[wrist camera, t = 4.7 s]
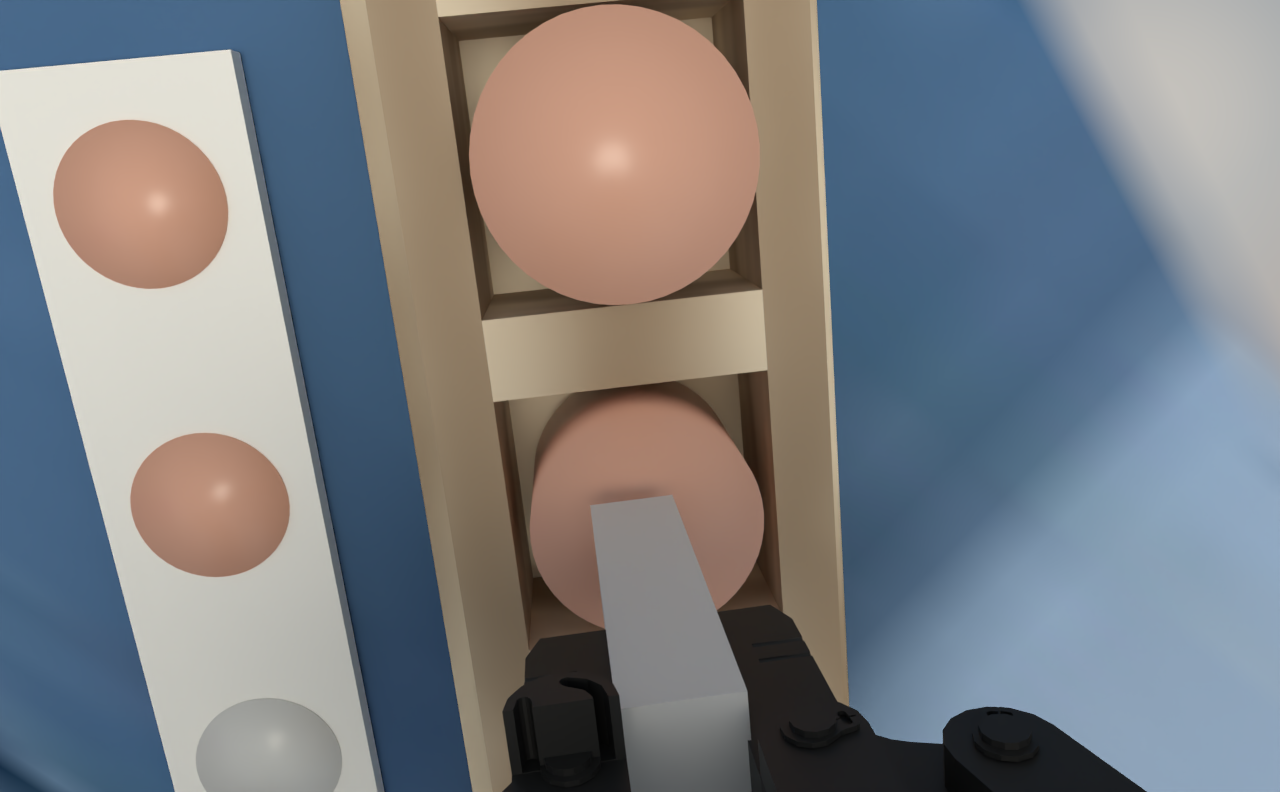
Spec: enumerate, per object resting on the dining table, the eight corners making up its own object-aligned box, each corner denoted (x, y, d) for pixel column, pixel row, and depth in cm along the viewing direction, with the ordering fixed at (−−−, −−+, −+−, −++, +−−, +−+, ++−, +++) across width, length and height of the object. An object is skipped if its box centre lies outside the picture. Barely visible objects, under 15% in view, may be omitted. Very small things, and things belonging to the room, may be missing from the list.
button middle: (547, 573, 22) (545, 648, 19) (522, 385, 21) (515, 429, 18) (739, 548, 22) (770, 618, 19) (724, 362, 21) (756, 401, 18)
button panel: (491, 861, 26) (478, 1004, 22) (343, -33, 20) (284, -85, 16) (844, 811, 26) (900, 938, 22) (801, -73, 21) (865, -134, 16)
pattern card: (204, 855, 25) (195, 874, 24) (3, 74, 20) (-17, 72, 19) (391, 829, 25) (387, 847, 25) (239, 52, 20) (229, 49, 20)
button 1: (503, 290, 19) (490, 319, 15) (469, 45, 17) (448, 18, 14) (730, 265, 19) (768, 289, 15) (713, 22, 18) (749, -10, 14)
